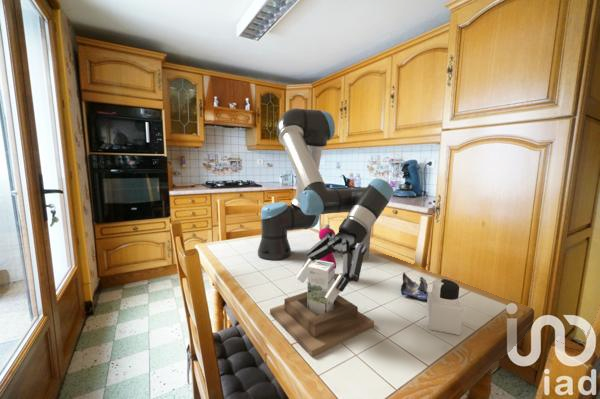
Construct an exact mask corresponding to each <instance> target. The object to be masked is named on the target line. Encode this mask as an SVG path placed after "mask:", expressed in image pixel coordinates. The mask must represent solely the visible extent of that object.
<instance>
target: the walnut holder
mask: <svg viewBox="0 0 600 399" xmlns="http://www.w3.org/2000/svg"><path fill="white" fill-rule="evenodd" d="M307 295H308V291H305V292H302V293H299V294H296V295H292V296H290V297H286V298H284V299H283V300H284V303H283V304H280V305H278V306H274V307H272V308H270V309H269V314H270V316H271V317H272V318H273V319H274V320H275V321H276V322H277V323H278V324H279V325H280V326H281V327H282V328H283V329H284V330H285V331H286V332H287V333H288V334H289V335H290V336H291V337H292V338H293V340H294V341H295V342H297V343H298V345H299V346H301V348H302V349H303V350H304V351H305V352H306V353H307V354H308V355H309V356H310V357H311V358H312V357H315V356H317V355H319V354H321V353H323V352H325V351H327V350H330V349H331V348H333V347H335V346H338V345H339V344H341V343H343V342H345V341H347V340H350V339H351V338H354V337H356V336H357V335H360V334H362V333H364V332H366V331H368V330H370V329H372V328H374V327H375V321H374V320H372V319H371V318H369V317H368V316H367V315H365V314H363V313H361V312H360V311H359V308H358V306H357V305H355V304H354V303H352V302H351V301H349V300H347V299H346V298H344V297H343V296H341V295H339V294H338V296H337V297H336V299H335V300H334V310H331V311H329V312H326V313H324V314H321V315H319V316H316V315H315V314H314V313H312V312H311V311H310V310H309V309H307Z"/></svg>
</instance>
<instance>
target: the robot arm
mask: <svg viewBox="0 0 600 399" xmlns="http://www.w3.org/2000/svg"><path fill="white" fill-rule="evenodd" d="M335 124H336V123H335V120H334V117H333V115H332V114H331V113H330V112H328V111H325V110H321V109H306V108H291V109H288V110H287V111H285V112H284V113H283V114H282V115H281V116H280V117H279V119H278V121H277V123H276V125H277V126H276V136H277V138H278V141H279V144H281V145H282V146H283V147H284V148H285V151H286V154H287V156H288V158H289V161H290V164H291V167H292V168H293V170H294V173H295V176H296V179H297V182H296V189H295V196H294V197H293V198H292V199H291V201H290V202H291V203H290V205H289V204H288V203H286V202H272V203H271V202H270V203H268V204H266V205H265V204H264V206H262V208H261V210H260V212H261V213H260V219H261V220H260V225H261V226H260V227H261V229H260V230H261V239H260V242H259V245H258V249H257V256H258V257H259V258H260V259H263V260H267V261H269V260H270V261H275V260H278V261H279V260H283V259H284V260H285V259H287V258H289V257H290V256H291V255H292V249H291V246H290V242H289V239H288V232H289V231H297V230H308V229H312V228H315V227H316V226H317V225H318V223H319V221H320V215H328V214H329V215H330V214H341V213H348V214H347V215H346V218H344V219H343V221H342V222H341V224H340V225H339V226H338V232H337V233H335V235H334V234H332V232H328V233H327V235H326V236H325V237H324V238H323V239H322V240H320V239H319V241H318V242H316V243H315V244H314V245H313V246H311V248H309V249H308V250H307V251H306V252H305V255H306V256H307V259H306V261H305V262H304V264H303V265H302V268H301V269H300V271H299V272H298V274H297V275H296V277H295V279H297V280H298V281H299V282H300V283H302V284H304V282H305V281H306V279H308V266H309V265H310V264H311V263H312V262H313V261H314V260H320V259H321V258H323V257H325V256H327V255H329V254H330V253H335V254H336V253H338V254H342V257H343V258H342V272H341V273H339V275H338V276H337V277H336V279H334V283H333V285H332V287H331V288H330V290H329V291H328V293H327V294H326V296H325V298H326V299H328V300H329V301H330V302H331V303H333V302H334V300H335V299H336V297H337V296H338V295H339V294H340V293H342V292H343V291H344V290H345V289H346V287H347V285H348V284H349V283H350V282H352V281H353V282H355V283H357V282H359V281H360V280H359V279H360V276H361V270H362V265H363V262H364V261H363V257H364V254H365V252H366V251H367V248H366V246H365V245H364V244H363V243H362V241H363V240H364V238H365V237H366V235H367V232H368V231H369V230H370V229H371V230H372V227H373V226H374V225H375V223H376V221H377V220H378V218H379V217H380V216H381V214H382V213H383V211H385V208H386V207H387V206H388V204H389V203H390V200H391V199H392V197H393V195H394V188H393V186H392V185H391V184H390V183H389V182H388V181H386V180H385V179H382V178H373V180H371V181H370V182H369V183H368V185H367V186H365V187H359V188H358V187H357V188H356V187H355V188H340V189H339V188H338V189H328V187H327V185H326V183H325V181H324V180H323V177H322V175H321V173H320V170H319V169H320V164H321V158H322V154H323V152H322V151H323V149H324V148H326V147H327V144H328V141H331V140H332V139H333V137H334V136H335V133H336V132H335V131H336V125H335ZM332 245H333V246H332ZM355 249H356V250H355ZM353 250H355V253H354V258H353ZM352 258H353V261H352Z"/></svg>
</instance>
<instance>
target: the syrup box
mask: <svg viewBox="0 0 600 399" xmlns="http://www.w3.org/2000/svg"><path fill="white" fill-rule="evenodd" d="M335 270H336V269H335V264H334V263H331V262H326V261H320V260H314V261H313V262H312V263H311V264H310V265H309V266H308V277H307V292H308V295H307V309H309V310H310V311H311V312H312V313H314V314H315V315H316V316H319V315H321V314H324V313H326V312H329V311H331V310H334V302H333V303H331V302H330V301H329V300H328V299H326V298H325V296H326V294H327V293H328V291H329V290H330V288H331V287H332V285H333V283H334V282H335V277H334V272H335ZM335 273H336V272H335Z"/></svg>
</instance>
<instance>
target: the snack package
mask: <svg viewBox="0 0 600 399" xmlns="http://www.w3.org/2000/svg"><path fill="white" fill-rule="evenodd" d="M417 277H418V278H419V276H417ZM419 282H420V283H419V284H418V283H417V282H416V281H413V280H412V279H411V278H410V276H408V275H407V273H406V272H403V274H402V284H401V286H400V294H401V295H402V296H410V297H412V298H414V300H417V301H419V302H420V301H421V302H427V298H428V288H429V286H428V283H427V280H426V279H425V278H424V277H423V276H420V278H419ZM415 287H417V293H415V294H413V292H412V290H413V289H414V288H415Z"/></svg>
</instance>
